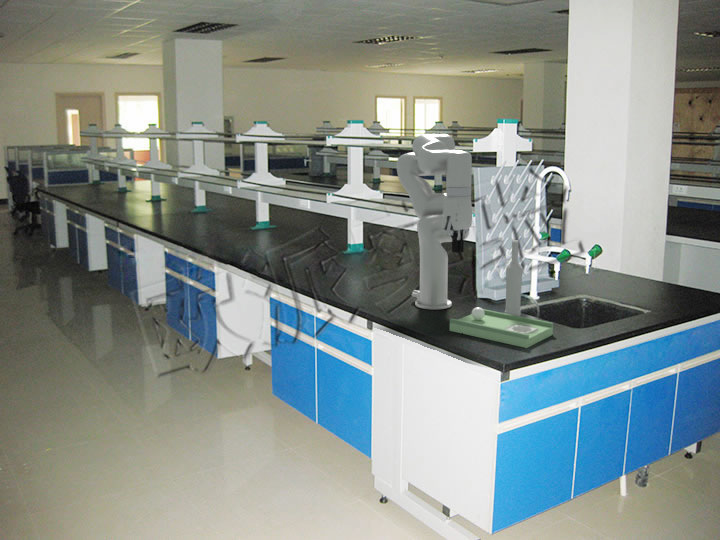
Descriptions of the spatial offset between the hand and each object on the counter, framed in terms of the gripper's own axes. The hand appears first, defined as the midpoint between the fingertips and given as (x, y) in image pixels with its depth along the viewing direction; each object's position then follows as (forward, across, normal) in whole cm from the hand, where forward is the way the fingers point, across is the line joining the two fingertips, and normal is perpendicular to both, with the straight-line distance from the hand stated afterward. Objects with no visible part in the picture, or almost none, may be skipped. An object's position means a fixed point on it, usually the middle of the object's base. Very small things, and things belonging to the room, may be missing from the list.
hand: (457, 252), depth 214 cm
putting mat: (+23, 0, +16) cm, 28 cm away
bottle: (+23, -18, +10) cm, 31 cm away
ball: (+18, 0, +8) cm, 20 cm away
